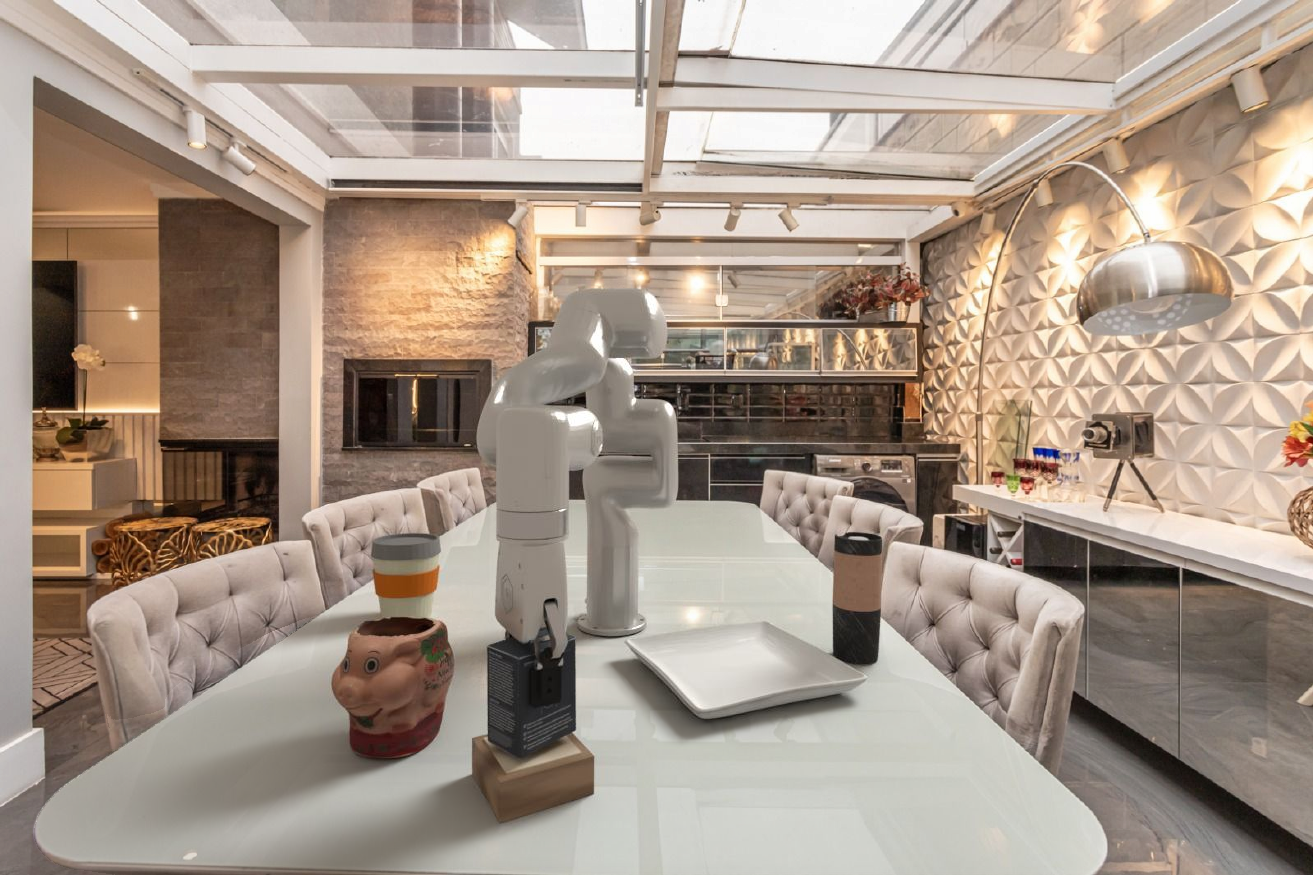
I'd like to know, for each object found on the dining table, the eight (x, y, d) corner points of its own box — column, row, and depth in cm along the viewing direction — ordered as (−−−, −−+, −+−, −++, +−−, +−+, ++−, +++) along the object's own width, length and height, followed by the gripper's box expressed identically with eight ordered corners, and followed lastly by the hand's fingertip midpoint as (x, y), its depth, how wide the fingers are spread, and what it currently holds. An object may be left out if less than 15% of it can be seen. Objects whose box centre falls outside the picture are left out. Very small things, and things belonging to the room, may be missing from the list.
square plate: (621, 660, 107) (621, 636, 107) (765, 639, 118) (766, 617, 117) (697, 737, 82) (697, 706, 82) (871, 701, 93) (871, 673, 93)
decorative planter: (397, 696, 92) (397, 597, 91) (481, 702, 90) (481, 601, 89) (302, 774, 72) (301, 648, 71) (408, 784, 70) (408, 655, 70)
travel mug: (882, 667, 104) (886, 541, 103) (832, 663, 105) (835, 539, 105) (876, 650, 111) (879, 533, 111) (829, 646, 113) (832, 530, 112)
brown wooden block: (471, 773, 72) (471, 736, 72) (557, 750, 77) (557, 715, 77) (500, 823, 64) (500, 780, 64) (594, 793, 69) (594, 754, 69)
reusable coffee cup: (440, 604, 135) (440, 531, 134) (441, 623, 123) (441, 543, 122) (374, 609, 131) (373, 534, 130) (367, 629, 119) (367, 547, 118)
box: (543, 716, 75) (543, 624, 75) (577, 732, 72) (578, 637, 71) (485, 742, 69) (485, 643, 69) (518, 761, 66) (519, 657, 65)
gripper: (474, 515, 75) (474, 668, 76) (527, 543, 60) (526, 734, 61) (537, 510, 79) (536, 656, 80) (601, 535, 64) (599, 715, 65)
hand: (532, 688), depth 70 cm, fingers closed on box, 7 cm apart
